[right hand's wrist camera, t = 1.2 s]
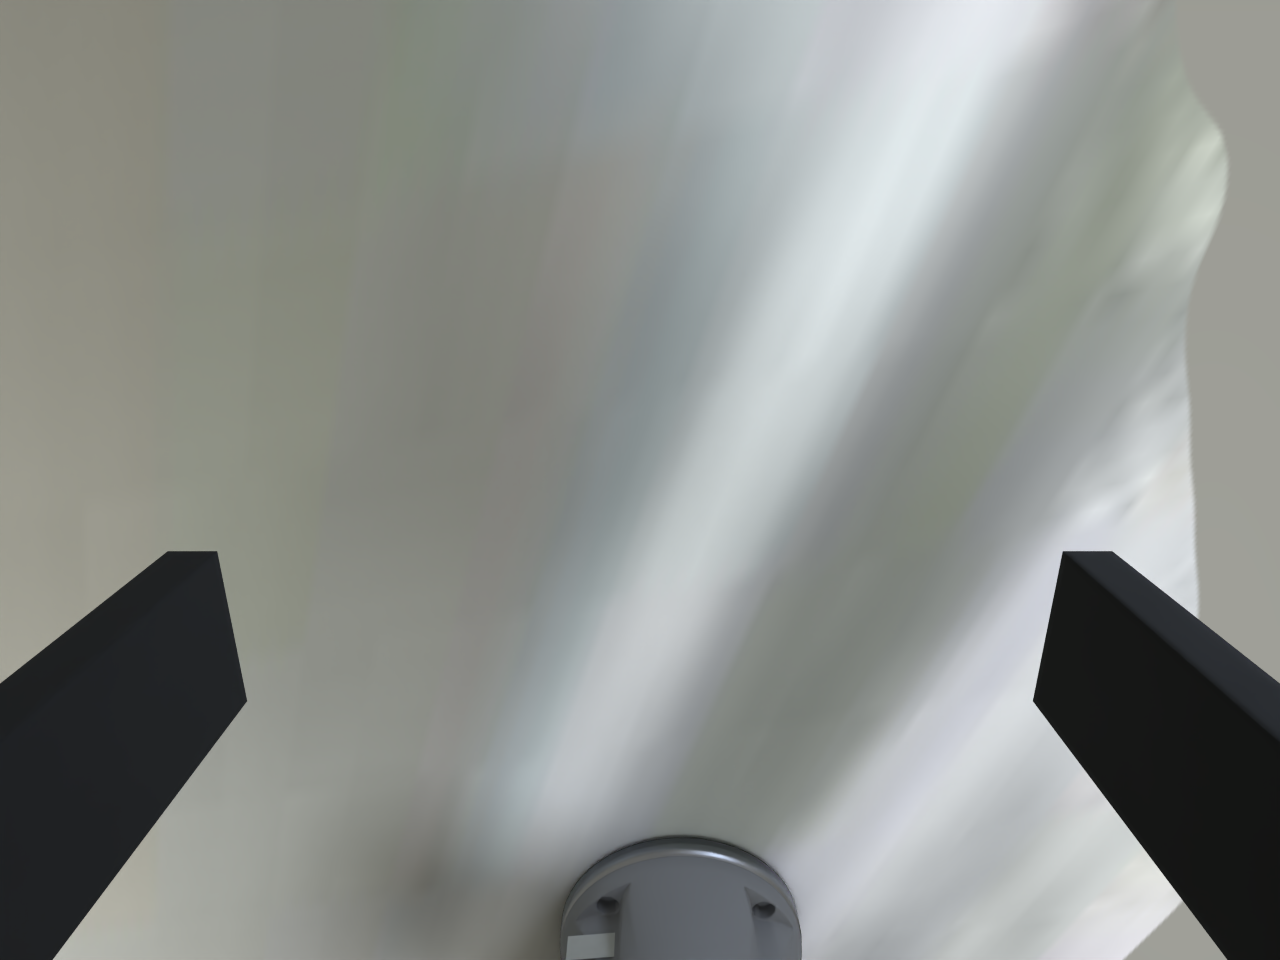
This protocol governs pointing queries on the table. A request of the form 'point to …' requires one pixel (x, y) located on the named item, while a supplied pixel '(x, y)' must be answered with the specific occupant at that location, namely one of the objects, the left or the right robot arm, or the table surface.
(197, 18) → the table surface
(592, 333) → the table surface
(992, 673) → the table surface
